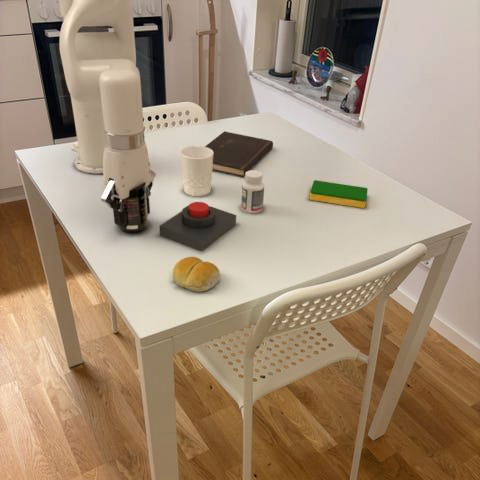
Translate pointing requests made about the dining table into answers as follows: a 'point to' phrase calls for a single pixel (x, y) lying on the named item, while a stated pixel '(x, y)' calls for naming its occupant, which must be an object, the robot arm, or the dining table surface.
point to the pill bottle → (252, 192)
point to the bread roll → (195, 274)
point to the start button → (198, 209)
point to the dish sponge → (339, 194)
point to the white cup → (197, 170)
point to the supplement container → (136, 210)
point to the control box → (197, 227)
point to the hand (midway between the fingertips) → (132, 218)
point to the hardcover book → (237, 152)
